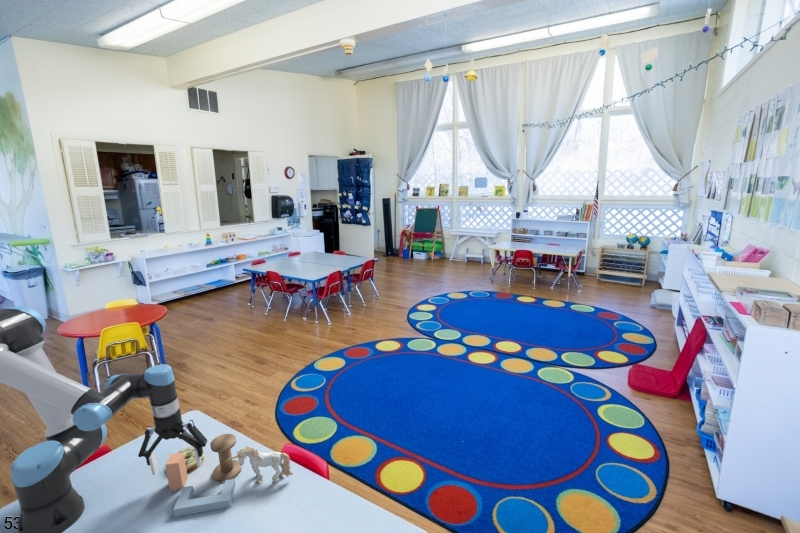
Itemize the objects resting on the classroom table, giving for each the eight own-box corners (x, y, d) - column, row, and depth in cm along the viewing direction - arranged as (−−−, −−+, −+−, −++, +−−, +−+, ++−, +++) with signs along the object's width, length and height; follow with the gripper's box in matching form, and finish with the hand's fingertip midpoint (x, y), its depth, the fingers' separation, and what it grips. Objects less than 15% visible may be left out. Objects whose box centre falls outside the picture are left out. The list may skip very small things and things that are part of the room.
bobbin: (210, 483, 132) (205, 452, 129) (216, 465, 141) (212, 434, 138) (238, 479, 134) (234, 447, 131) (243, 461, 142) (239, 431, 140)
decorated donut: (185, 478, 135) (183, 468, 134) (164, 469, 140) (163, 460, 139) (210, 458, 144) (209, 449, 144) (190, 450, 149) (189, 441, 148)
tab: (169, 490, 130) (165, 464, 127) (175, 479, 134) (170, 454, 132) (183, 488, 130) (178, 462, 128) (187, 477, 135) (183, 452, 133)
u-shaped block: (174, 516, 120) (173, 509, 119) (183, 493, 128) (182, 487, 128) (230, 506, 123) (229, 500, 122) (235, 485, 131) (234, 478, 131)
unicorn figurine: (234, 479, 134) (229, 445, 131) (292, 465, 140) (289, 433, 137) (232, 494, 127) (227, 459, 124) (293, 480, 133) (290, 446, 130)
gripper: (117, 425, 120) (131, 483, 125) (204, 412, 125) (214, 469, 130) (128, 411, 127) (141, 467, 132) (210, 399, 132) (220, 454, 137)
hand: (177, 468), depth 131 cm, fingers open, 13 cm apart
